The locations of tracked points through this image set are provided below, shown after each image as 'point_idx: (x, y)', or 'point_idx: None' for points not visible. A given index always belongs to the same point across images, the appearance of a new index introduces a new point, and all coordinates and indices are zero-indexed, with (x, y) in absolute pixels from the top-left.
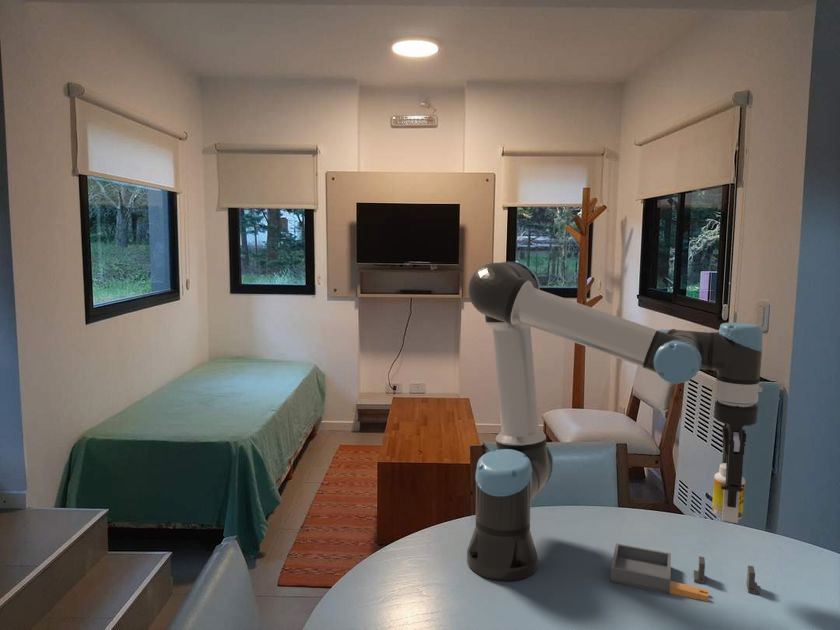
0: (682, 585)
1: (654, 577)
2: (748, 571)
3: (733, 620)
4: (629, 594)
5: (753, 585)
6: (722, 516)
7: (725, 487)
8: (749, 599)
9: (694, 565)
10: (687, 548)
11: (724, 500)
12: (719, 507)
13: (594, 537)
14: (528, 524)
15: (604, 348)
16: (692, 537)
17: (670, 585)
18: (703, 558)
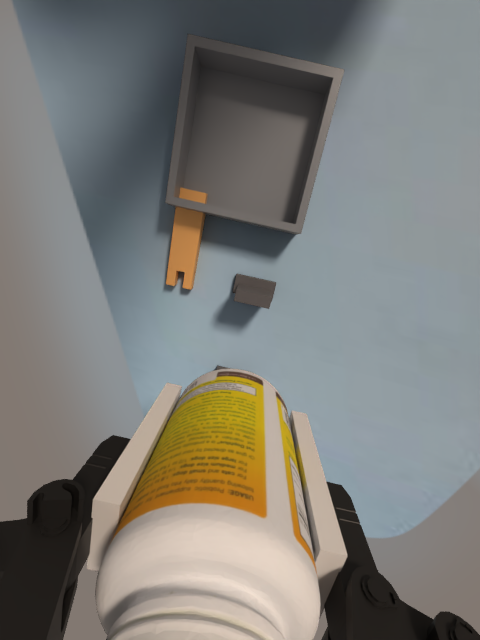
0: (191, 238)
1: (170, 164)
2: None
3: (116, 310)
4: (151, 108)
5: None
6: (161, 391)
7: (31, 517)
8: (194, 359)
9: (309, 292)
10: (390, 296)
11: (131, 443)
12: (182, 402)
13: (447, 30)
14: None
15: None
16: (449, 322)
17: (181, 209)
18: (262, 305)
